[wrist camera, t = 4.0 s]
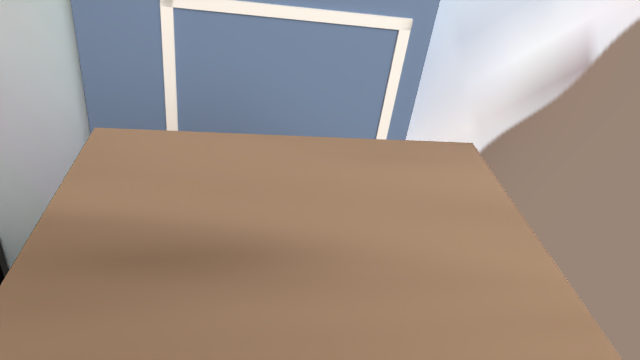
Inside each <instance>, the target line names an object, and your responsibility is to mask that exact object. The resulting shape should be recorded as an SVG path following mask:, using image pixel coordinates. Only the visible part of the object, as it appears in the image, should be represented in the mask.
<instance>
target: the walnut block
mask: <svg viewBox="0 0 640 360" xmlns="http://www.w3.org/2000/svg"><path fill="white" fill-rule="evenodd" d="M0 360H622V359H621V357H620V356H619V354H618V353H617V352H616V350H615V349H614V347H613V346H612V344H611V343H610V342H609V340H608V339H607V337H606V336H605V334H604V333H603V332H602V330H601V328H600V327H599V326H598V324H597V323H596V321H595V320H594V318H593V317H592V316H591V314H590V313H589V311H588V310H587V308H586V307H585V305H584V304H583V303H582V301H581V300H580V298H579V297H578V295H577V294H576V292H575V291H574V289H573V288H572V287H571V285H570V284H569V282H568V281H567V279H566V278H565V276H564V275H563V274H562V272H561V271H560V269H559V268H558V266H557V265H556V263H555V262H554V261H553V259H552V258H551V256H550V255H549V253H548V252H547V250H546V249H545V248H544V246H543V245H542V243H541V242H540V240H539V239H538V237H537V236H536V235H535V233H534V232H533V230H532V229H531V227H530V226H529V225H528V223H527V222H526V220H525V219H524V217H523V216H522V214H521V213H520V211H519V210H518V208H517V207H516V206H515V204H514V203H513V201H512V200H511V198H510V197H509V196H508V194H507V193H506V191H505V190H504V188H503V187H502V185H501V184H500V182H499V181H498V180H497V178H496V177H495V175H494V174H493V172H492V171H491V170H490V168H489V167H488V165H487V164H486V162H485V161H484V159H483V158H482V156H481V155H480V154H479V152H478V151H477V149H476V148H475V146H474V145H473V143H457V142H433V141H409V140H385V139H360V138H336V137H312V136H288V135H263V134H239V133H215V132H191V131H166V130H142V129H118V128H94V130H93V131H92V133H91V135H90V136H89V138H88V140H87V141H86V143H85V145H84V146H83V148H82V150H81V151H80V153H79V155H78V156H77V158H76V160H75V161H74V163H73V165H72V166H71V168H70V170H69V171H68V173H67V175H66V176H65V178H64V180H63V181H62V183H61V185H60V186H59V188H58V190H57V191H56V193H55V195H54V196H53V198H52V200H51V201H50V203H49V205H48V206H47V208H46V210H45V212H44V213H43V215H42V217H41V218H40V220H39V222H38V223H37V225H36V227H35V228H34V230H33V232H32V233H31V235H30V237H29V238H28V240H27V242H26V243H25V245H24V247H23V248H22V250H21V252H20V253H19V255H18V257H17V258H16V260H15V262H14V263H13V265H12V267H11V268H10V270H9V272H8V273H7V275H6V277H5V278H4V280H3V282H2V283H1V285H0Z"/></svg>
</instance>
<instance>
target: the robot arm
mask: <svg viewBox="0 0 640 360" xmlns="http://www.w3.org/2000/svg"><path fill="white" fill-rule="evenodd" d="M7 273H8V269H7V266H6V262H5V259H4V256H3V253H2V249H1V246H0V285H1V283H2V282H3V280H4V278H5V277H6V275H7Z"/></svg>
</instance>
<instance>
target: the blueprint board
mask: <svg viewBox="0 0 640 360" xmlns="http://www.w3.org/2000/svg"><path fill="white" fill-rule="evenodd" d="M439 2H440V0H71V7H72V13H73V20H74V27H75V33H76V40H77V47H78V53H79V60H80V67H81V73H82V80H83V87H84V93H85V100H86V107H87V113H88V120H89V127H90V133H92V131H93V130H94V128H118V129H142V130H166V131H191V132H215V133H239V134H263V135H288V136H312V137H336V138H360V139H385V140H405V139H406V135H407V131H408V127H409V123H410V119H411V115H412V111H413V107H414V103H415V99H416V95H417V91H418V87H419V82H420V78H421V74H422V70H423V66H424V62H425V58H426V54H427V50H428V46H429V42H430V38H431V34H432V30H433V26H434V22H435V18H436V14H437V10H438V6H439Z"/></svg>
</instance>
